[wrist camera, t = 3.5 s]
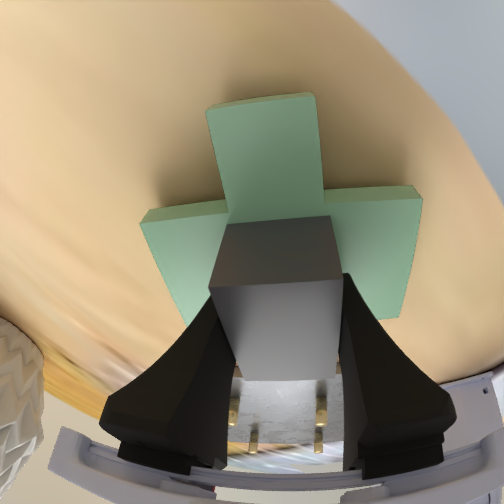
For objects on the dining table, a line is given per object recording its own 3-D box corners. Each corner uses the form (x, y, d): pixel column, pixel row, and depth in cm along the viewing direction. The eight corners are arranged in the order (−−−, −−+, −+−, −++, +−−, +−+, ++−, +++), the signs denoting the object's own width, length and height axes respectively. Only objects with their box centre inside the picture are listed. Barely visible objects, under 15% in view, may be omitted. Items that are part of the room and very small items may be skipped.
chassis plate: (375, 359, 20) (382, 399, 17) (349, 433, 32) (349, 456, 29) (175, 364, 23) (165, 400, 20) (230, 435, 35) (227, 457, 32)
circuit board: (414, 91, 8) (485, 123, 5) (383, 342, 17) (394, 405, 14) (121, 128, 11) (51, 175, 7) (210, 350, 19) (197, 411, 16)
